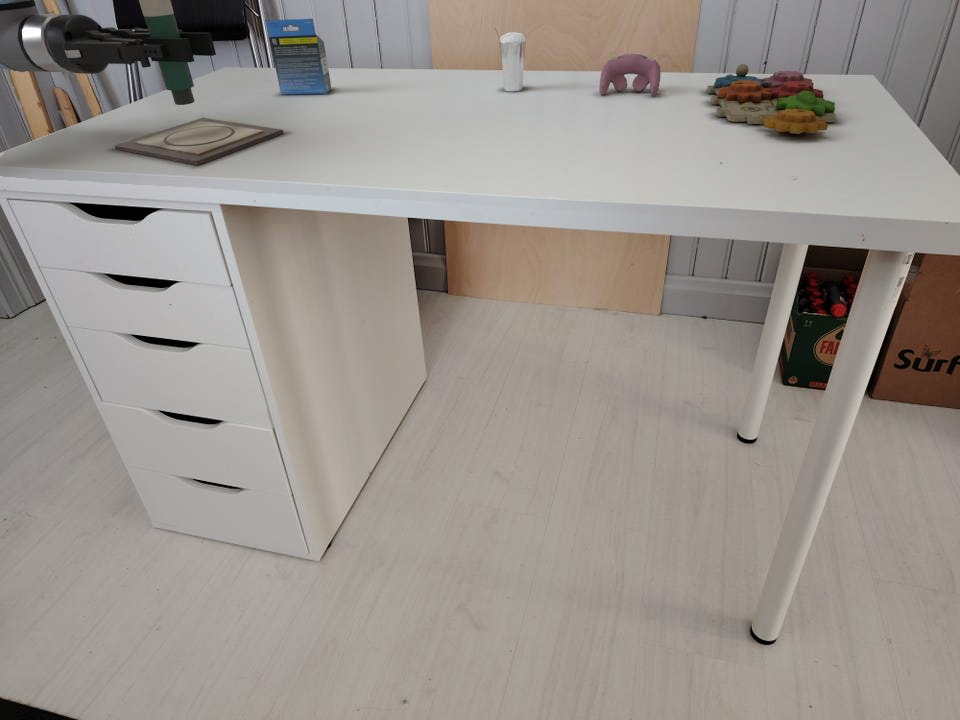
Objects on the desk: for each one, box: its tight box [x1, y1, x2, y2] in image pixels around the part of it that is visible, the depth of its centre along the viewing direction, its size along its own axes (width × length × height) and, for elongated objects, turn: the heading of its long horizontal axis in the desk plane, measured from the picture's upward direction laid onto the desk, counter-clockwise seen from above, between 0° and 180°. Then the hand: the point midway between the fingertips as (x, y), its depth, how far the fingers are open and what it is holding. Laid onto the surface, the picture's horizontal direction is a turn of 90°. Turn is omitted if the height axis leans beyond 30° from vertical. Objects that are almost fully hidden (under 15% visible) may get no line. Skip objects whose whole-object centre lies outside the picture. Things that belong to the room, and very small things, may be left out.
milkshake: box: [494, 27, 527, 92], centre depth 112 cm, size 4×5×10 cm
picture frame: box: [114, 117, 284, 166], centre depth 96 cm, size 18×16×1 cm
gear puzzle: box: [706, 63, 837, 135], centre depth 95 cm, size 31×16×4 cm, turn 169°
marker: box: [138, 0, 195, 106], centre depth 87 cm, size 4×4×13 cm
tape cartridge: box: [264, 18, 332, 96], centre depth 116 cm, size 9×4×12 cm, turn 84°
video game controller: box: [599, 53, 661, 97], centre depth 108 cm, size 10×5×7 cm, turn 74°
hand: (200, 47), depth 85 cm, fingers closed on marker, 4 cm apart
